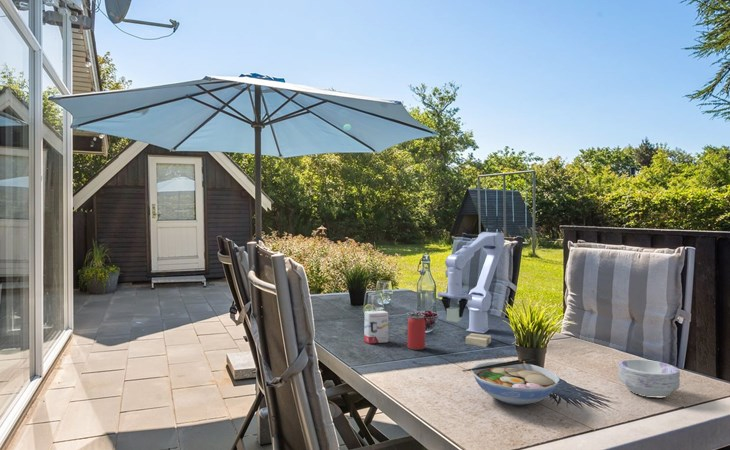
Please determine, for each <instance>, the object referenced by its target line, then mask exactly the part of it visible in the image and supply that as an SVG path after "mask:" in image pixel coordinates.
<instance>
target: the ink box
mask: <svg viewBox="0 0 730 450" xmlns="http://www.w3.org/2000/svg"><path fill="white" fill-rule="evenodd" d="M363 322H364V324H363V325H364V327H363V328H364V329H363V330H364V331H363V333H364V335H363V337H364V338H363V341H364V342H365V343H367V344H369V345H371V344H381V343H389V312H387V311H385V310H366V311H364V321H363Z"/></svg>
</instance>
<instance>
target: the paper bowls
mask: <svg viewBox="0 0 730 450" xmlns="http://www.w3.org/2000/svg"><path fill="white" fill-rule="evenodd" d="M617 367H618V368H617V370H618V376H617V377H618V380H619V382H621V383H623V384H624V385H625V387H626V389H627V390H628V391H629V390H630V391H632V392H634V393H637V394H641V395H645V396H668V395H669V396H670V395H671V393H672V391H676V390H678V389H680V384H681V383H680V381H681V380H680V377H681V376H680V369H678V367H676V366H675V365H672V364H669V363H666V362H662V361H658V360H650V359H645V358H644V359H642V358H641V359H640V358H630V359H623V360H620V361H619V362H618V365H617ZM630 391H629V392H630ZM632 392H631V393H632ZM634 393H633V394H634ZM669 396H668V397H669Z"/></svg>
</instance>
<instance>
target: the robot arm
mask: <svg viewBox="0 0 730 450" xmlns="http://www.w3.org/2000/svg"><path fill="white" fill-rule="evenodd" d="M505 243H506V241H505V237H504V235H503V233H502V232H486V231H482V232H481V233H479V234H478V236H477V238H476V239H475V240H473V242H472V243H470V244H469V245H466V244H465V245H462V247H461V248H460V249H459V250H457V251H455V252H454V253H453V254H449V255H448V256H446V259H445V261H444V263H445V266H446V270H447V292H444V291H443V292H442V291H441V292H437V297H436V298H441V299H440V300H441V303H442V305H443V307H444V310H445V314H446V315H445V316H447V308H449V307H451V299H453V300H454V299H456V300H458V306H459V307H458V308H459V309H460V310H459V317H462V318H463V316H464V315H463V314H464V311H465V309H466V307H467V309H468V310H469V314H468V315H469V317H468V318H469V319H468V321H469V322H468V323H469V326H468V328H467V329H465V331H466V332H470V333H477V334H485V333H487V332H488V331H489V330H490V327H488V325H489V323H488V321H489V320H488V319H489V317H488V314H489V313H488V311H489V310H490V307H491V306H492V305H491V304H492V297H493V295H492V294H491V292H490V291H489V289H490V286H491V283H492V280H493V278H494V275H495V272H496V269H497V265H498V264H499V259H500V256H501V254H502V252H503V249H504V246H505ZM480 249H483V252H484V253H486V256H485V257H486V258H485V261H484V264H483V266H482V269H481V270H480V271H481V272H480V275H479V278H478V280H477V283H476V286H475V287H473V288H471V289H470V290H469V293H468V294H465V293H463V292H462V291H463V286H462V285H463V269H464V268H465V266H466V264H467V262H468V261H470V259H472V258H473V257H474V256H475V252H477V251H478V250H480Z"/></svg>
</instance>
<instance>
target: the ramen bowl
mask: <svg viewBox="0 0 730 450" xmlns="http://www.w3.org/2000/svg"><path fill="white" fill-rule="evenodd" d="M530 363H531V364H530ZM532 363H536V359H532V358H531V357H525V358H521V359H514V360H510V361H507V360H498V361H497V360H496V361H495V360H494V361H485V362H482V363H478V364H476V365H475V366H473V367H472V368H468V369H463V370H461V371H462V372H464V373H465V372H472V375H473V377H474V379H475V381H476V383H477V384H478V386H479V387H480V388H481V390H483V391H484V392H486V394H488V395H489V396H490V397H491V398H494V399H497V400H499V401H501V402H503V403H505V404H507V405H511V406H512V405H513V406H525V405H528V404H534V403H538V402H541V401H542V400H545V399H547V397H549V395H550V394H552V392H553V391H554V389H556V387H557V386H558V384H559V383H560V380H561V379H560V377H559V376H558V375H557V374H556V373H555V372H554V371H551V370H549V369H547V368H545V367H541V366H539V365H535V364H532Z"/></svg>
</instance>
